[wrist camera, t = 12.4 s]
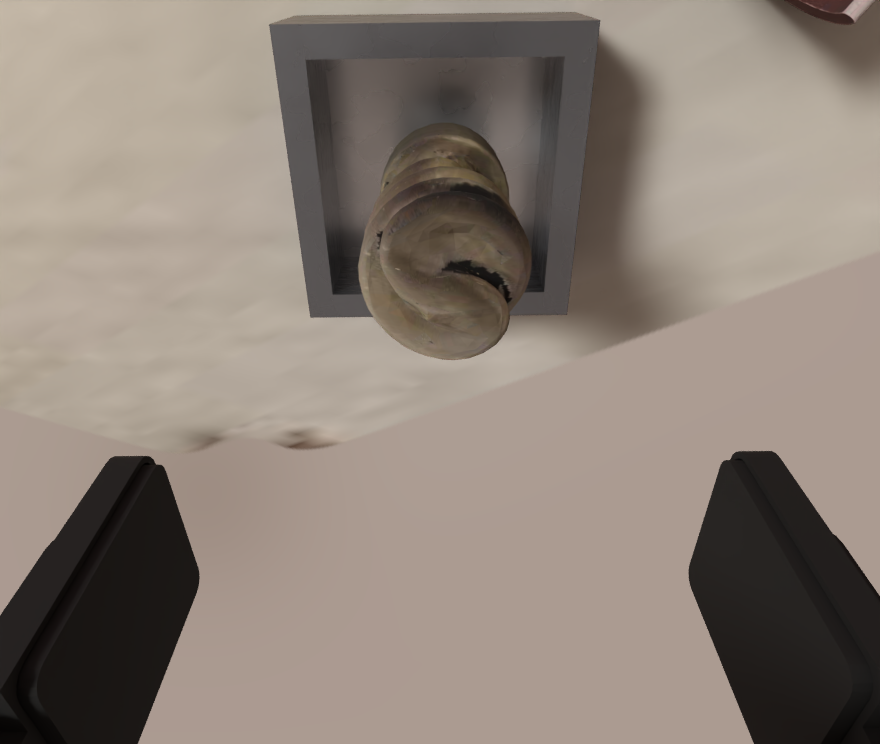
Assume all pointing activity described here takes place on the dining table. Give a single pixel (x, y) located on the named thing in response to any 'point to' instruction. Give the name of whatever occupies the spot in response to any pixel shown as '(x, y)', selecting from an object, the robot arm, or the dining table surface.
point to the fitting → (426, 102)
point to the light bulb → (444, 245)
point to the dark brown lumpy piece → (834, 9)
